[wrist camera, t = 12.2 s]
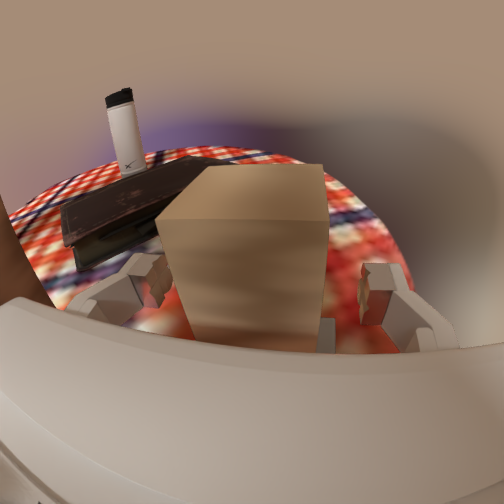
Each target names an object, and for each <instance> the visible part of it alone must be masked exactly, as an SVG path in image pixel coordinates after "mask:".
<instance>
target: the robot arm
mask: <svg viewBox="0 0 504 504" xmlns="http://www.w3.org/2000/svg"><path fill="white" fill-rule="evenodd" d="M167 264H168V262H167V259H166V256H165V255H163V254H151V253H134V254H133V255H132V256H131V258H130V259H129V260H128V261H127V262H126V264H125V265H124V266H123V267H122V268H121V270H120V271H119V272H118V273H117V274H113V275H111V276H109V277H108V278H106V279H104V280H102V281H100V282H98V283H97V284H95V285H93V286H91V287H89V288H88V289H86V290H84V291H82V292H81V293H79V294H77V295H76V296H75V297H74V298H73V299H72V301H71V302H70V303H69V304H68V306H67V307H66V308H65V310H64V311H63V310H59V309H56V308H53V307H50V306H47V305H44V304H41V303H38V302H35V301H32V300H29V299H27V298H24V297H17V298H14V299H12V300H10V301H8V302H6V303H5V304H3V305H1V306H0V504H504V342H502V343H496V344H491V345H483V346H477V347H469V348H461V349H460V346H459V343H458V340H457V337H456V334H455V331H454V328H453V325H452V324H451V323H449V322H448V321H447V320H446V319H445V318H444V317H443V316H442V315H441V314H439V313H438V312H437V311H436V310H435V309H434V308H433V307H431V306H430V305H429V304H428V303H427V302H425V301H424V300H423V299H422V298H421V297H420V296H418V295H417V294H416V293H415V292H414V291H410V290H409V287H408V284H407V281H406V278H405V276H404V273H403V270H402V267H401V265H400V264H399V263H387V264H384V263H363V265H362V268H361V275H362V278H361V279H360V280H359V284H358V293H357V296H358V304H359V305H360V310H359V315H360V324H361V325H380V326H381V327H382V328H383V330H384V331H385V332H386V334H387V335H388V336H389V338H390V339H391V340H392V342H393V343H394V344H395V346H396V347H397V348H398V350H399V351H400V352H401V353H393V354H326V353H304V352H289V351H276V350H264V349H254V348H245V347H236V346H228V345H220V344H213V343H206V342H200V341H193V340H187V339H181V338H175V337H170V336H165V335H159V334H154V333H149V332H144V331H140V330H135V329H131V328H126V327H122V326H120V325H122V324H123V323H124V322H125V321H127V320H128V319H129V318H130V317H132V316H133V315H134V314H135V313H137V312H138V311H139V310H141V309H142V308H143V307H150V308H160V306H161V304H162V302H163V301H164V299H165V296H164V294H165V293H167V292H168V291H169V290H170V288H171V287H172V282H173V277H172V274H171V271H170V269H169V268H168V267H167Z"/></svg>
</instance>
